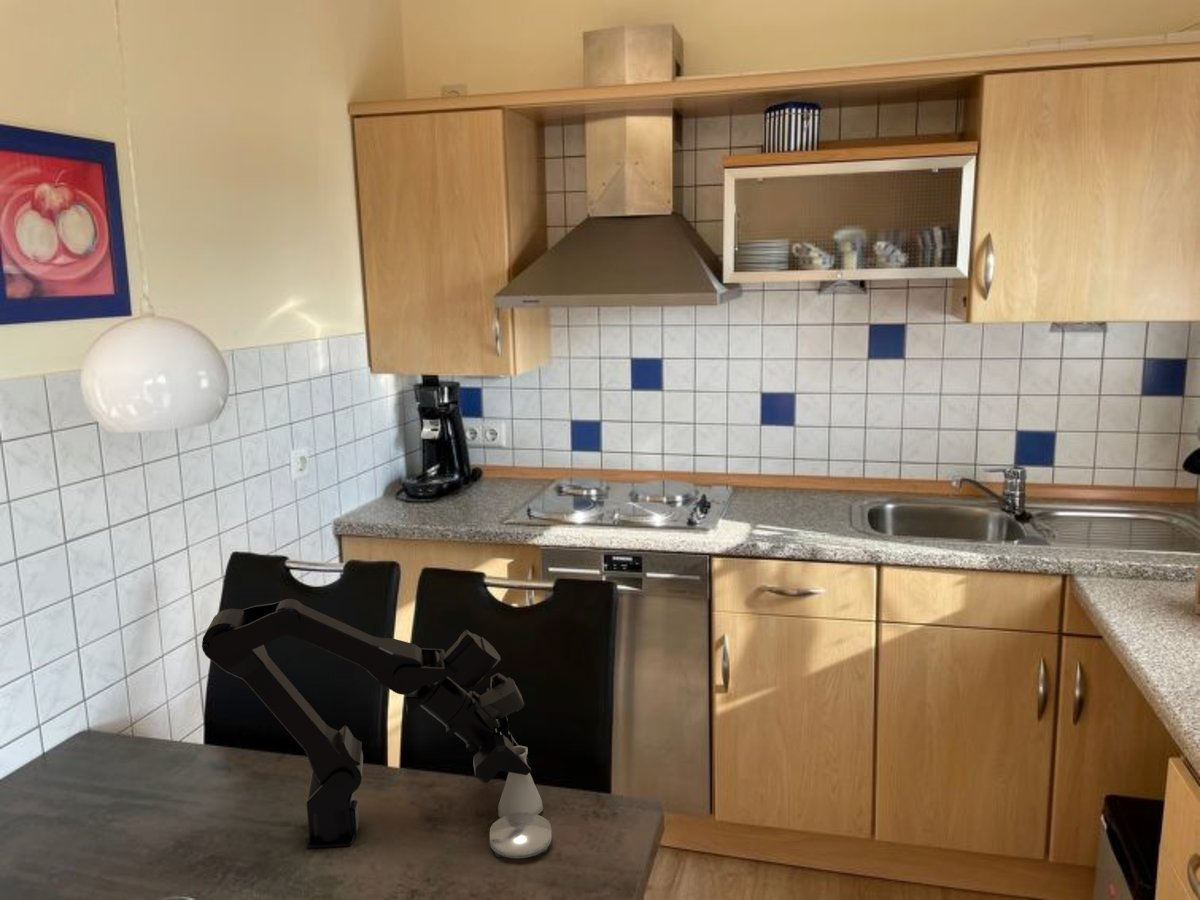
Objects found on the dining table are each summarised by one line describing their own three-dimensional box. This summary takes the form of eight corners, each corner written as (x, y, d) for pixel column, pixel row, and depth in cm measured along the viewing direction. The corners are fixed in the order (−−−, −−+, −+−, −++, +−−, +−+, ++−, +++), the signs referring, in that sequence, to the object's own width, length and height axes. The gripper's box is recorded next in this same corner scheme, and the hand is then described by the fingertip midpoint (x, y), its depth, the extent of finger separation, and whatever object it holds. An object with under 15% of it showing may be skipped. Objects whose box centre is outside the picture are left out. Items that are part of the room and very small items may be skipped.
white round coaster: (489, 866, 130) (488, 850, 129) (490, 829, 138) (490, 814, 138) (552, 862, 130) (552, 846, 130) (550, 825, 139) (550, 810, 139)
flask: (537, 825, 139) (534, 763, 137) (491, 821, 140) (488, 760, 138) (548, 798, 146) (546, 740, 144) (505, 795, 147) (502, 737, 145)
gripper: (497, 694, 129) (574, 759, 133) (485, 644, 147) (554, 702, 151) (442, 752, 129) (521, 815, 133) (437, 695, 147) (507, 752, 151)
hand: (527, 767), depth 142 cm, fingers closed on flask, 3 cm apart
